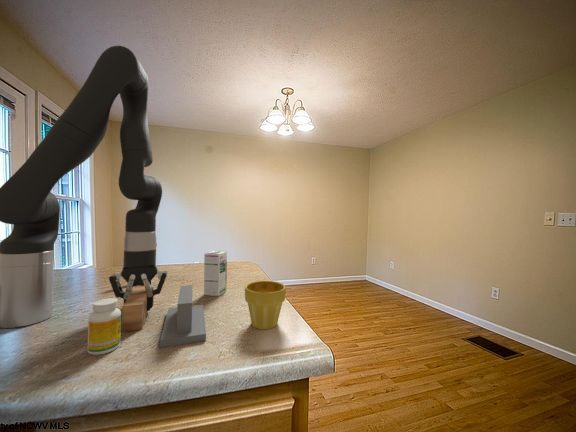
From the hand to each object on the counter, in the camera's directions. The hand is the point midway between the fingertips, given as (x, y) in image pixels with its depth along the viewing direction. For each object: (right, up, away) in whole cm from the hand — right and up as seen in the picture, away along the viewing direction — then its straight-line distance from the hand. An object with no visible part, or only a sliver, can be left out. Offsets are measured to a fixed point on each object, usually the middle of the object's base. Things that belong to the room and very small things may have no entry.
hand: (138, 310), depth 66 cm
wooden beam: (0, -1, 0) cm, 1 cm away
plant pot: (+35, -2, -4) cm, 35 cm away
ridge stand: (+15, -1, -6) cm, 16 cm away
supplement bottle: (+3, -1, -17) cm, 17 cm away
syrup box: (+15, -2, +19) cm, 24 cm away
